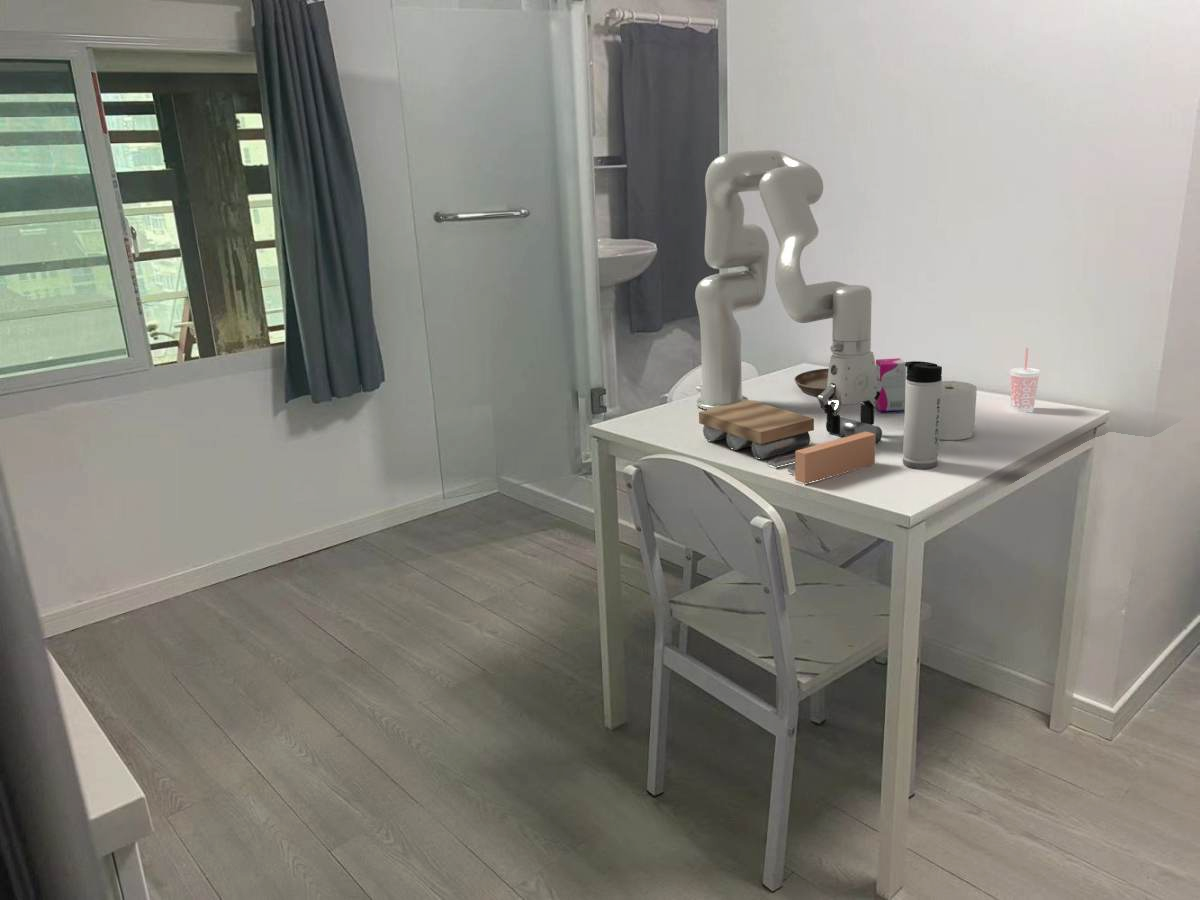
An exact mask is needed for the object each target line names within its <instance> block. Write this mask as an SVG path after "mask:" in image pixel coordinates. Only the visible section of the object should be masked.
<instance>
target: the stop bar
mask: <svg viewBox="0 0 1200 900" xmlns="http://www.w3.org/2000/svg"><path fill="white" fill-rule="evenodd" d="M875 438H876V434H873V433H870V432H866V431H865V432H862V433H858V434H855V435H851V436H847V437H840V438H838V439H837V438H836V439H834V440H830V441H826V442H822V443H819V444H815V445H811V446H807V447H804V448H800V449H797V450H794V451H795V452H794V454H795V463H794V464H795V465H794V466H795V476H794V477H795V479H794V480H797V481H799V482H802V483H804V484H805V483H809V482H812V481H816V480H820V479H823V478H827V477H830V476H833V477H835V476H834V475H837V474H840V475H842V474H841V473H843V474H845V473H844V472H847V471H850V472H852V471H851V470H853V471H855V470H854V469H856V470H859V469H858V468H860V469H862V467H863V468H866V467H869V465H870V466H873V465H875V463H876V444H875ZM865 466H866V467H865ZM847 473H848V472H847ZM837 476H838V475H837ZM830 478H831V477H830ZM827 479H828V478H827ZM823 480H824V479H823ZM820 481H821V480H820Z"/></svg>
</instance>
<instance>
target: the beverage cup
mask: <svg viewBox="0 0 1200 900" xmlns="http://www.w3.org/2000/svg"><path fill="white" fill-rule="evenodd" d="M1028 354H1029V348H1028V347H1026V348H1025V355H1024V356H1025V357H1024V366H1023V367H1014V368H1011V369H1010V370H1009V374H1010V410H1011V409H1012V410H1014V411H1018V412H1017V413H1019V412H1029V413H1031V412H1030V411H1033V410H1035V404H1036V403H1035V402H1036V396H1037V389H1038V386H1039V385H1038V383H1039V377H1040V376H1041V372H1042V371H1041V369H1038V368H1032V367H1028V357H1029V355H1028ZM1012 410H1011V411H1012ZM1014 411H1013V412H1014ZM1033 412H1034V411H1033Z"/></svg>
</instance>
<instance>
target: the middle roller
mask: <svg viewBox="0 0 1200 900" xmlns="http://www.w3.org/2000/svg"><path fill="white" fill-rule="evenodd" d="M726 443H727V447H729V448H730V449H731V448H733V449H735V450H734V451H737V450H740V449H744V448H749V447H752V443H753V441H750V440H747V439H744V438H741V437H738V436H735V435H732V434H729V433H728V434H727V438H726Z"/></svg>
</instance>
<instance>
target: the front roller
mask: <svg viewBox="0 0 1200 900" xmlns="http://www.w3.org/2000/svg"><path fill="white" fill-rule="evenodd" d="M810 443H811V437H810V432H805V433H801V434H798V435H794V436H790V437H786V438H783V439H779V440H775V441H771V442H767V443H764V444H759V443H756V442H753V443H752V446H751V452H752V454H753V456H754V457H755V458H756V457H757V458H760V459H759V460H763V459H766V458H767V457H768V458H771V457H774V456H778V455H782V454H785V453H790V452H792V451H797V450H800V449H804V448H808V447H809V446H810ZM757 458H756V459H757Z"/></svg>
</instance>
